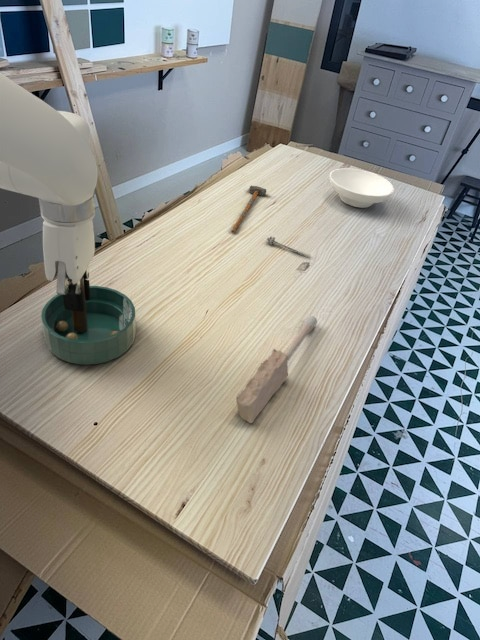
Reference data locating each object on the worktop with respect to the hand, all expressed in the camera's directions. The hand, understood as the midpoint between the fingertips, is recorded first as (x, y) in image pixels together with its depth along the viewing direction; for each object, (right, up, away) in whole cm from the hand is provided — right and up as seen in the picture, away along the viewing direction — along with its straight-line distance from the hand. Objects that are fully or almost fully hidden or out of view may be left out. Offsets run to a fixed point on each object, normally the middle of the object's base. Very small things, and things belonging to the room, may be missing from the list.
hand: (77, 303), depth 79 cm
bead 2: (-1, -6, +1) cm, 6 cm away
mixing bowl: (+1, -6, +4) cm, 7 cm away
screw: (+39, +14, +37) cm, 55 cm away
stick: (-1, -4, +4) cm, 6 cm away
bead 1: (-4, -4, +2) cm, 6 cm away
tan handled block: (+35, -11, +5) cm, 37 cm away
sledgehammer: (+29, +27, +50) cm, 64 cm away
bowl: (+63, +33, +64) cm, 96 cm away
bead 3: (+6, -6, +2) cm, 8 cm away
